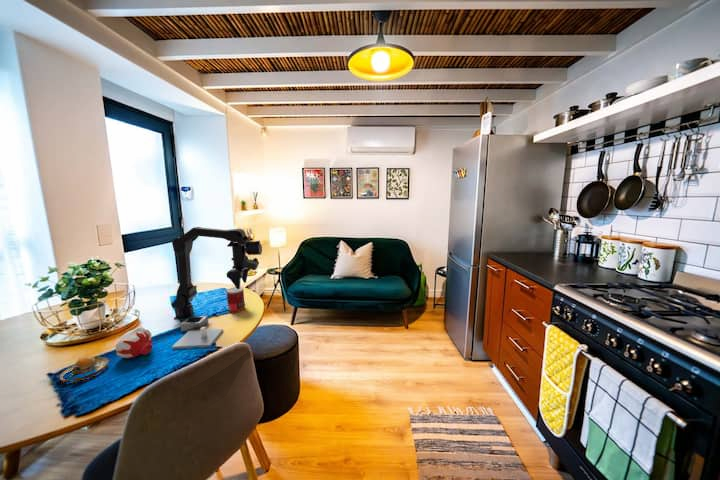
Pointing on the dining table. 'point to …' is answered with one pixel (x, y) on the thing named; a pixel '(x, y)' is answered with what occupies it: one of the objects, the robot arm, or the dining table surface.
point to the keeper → (198, 338)
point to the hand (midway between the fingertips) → (241, 285)
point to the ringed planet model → (86, 367)
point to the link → (194, 323)
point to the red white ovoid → (134, 343)
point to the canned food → (235, 299)
